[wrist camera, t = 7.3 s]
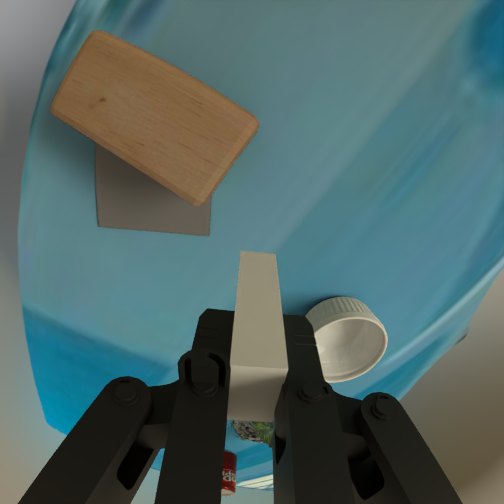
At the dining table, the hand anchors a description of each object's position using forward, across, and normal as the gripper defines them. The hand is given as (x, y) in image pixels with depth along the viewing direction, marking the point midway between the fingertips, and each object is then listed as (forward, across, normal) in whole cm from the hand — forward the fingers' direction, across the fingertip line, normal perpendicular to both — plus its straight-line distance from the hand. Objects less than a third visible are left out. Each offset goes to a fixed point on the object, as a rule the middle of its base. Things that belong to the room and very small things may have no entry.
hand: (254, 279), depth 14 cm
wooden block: (+19, -2, +2) cm, 19 cm away
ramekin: (+25, +15, -22) cm, 36 cm away
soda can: (+24, -1, -70) cm, 74 cm away
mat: (+24, -13, -1) cm, 28 cm away
